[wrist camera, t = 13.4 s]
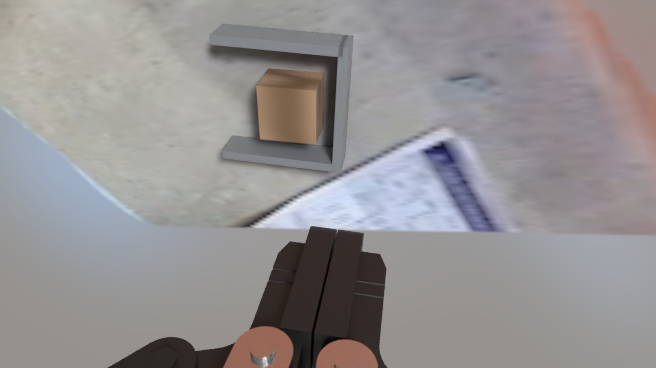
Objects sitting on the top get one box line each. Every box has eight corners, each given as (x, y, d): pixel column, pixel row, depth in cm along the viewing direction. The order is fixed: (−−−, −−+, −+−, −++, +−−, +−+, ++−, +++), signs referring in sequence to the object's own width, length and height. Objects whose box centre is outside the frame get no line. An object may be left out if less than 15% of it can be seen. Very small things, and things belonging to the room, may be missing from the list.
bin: (233, 142, 47) (222, 158, 45) (222, 24, 40) (209, 34, 38) (344, 156, 46) (340, 172, 43) (353, 35, 39) (348, 47, 37)
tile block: (271, 118, 45) (260, 139, 42) (269, 68, 42) (256, 85, 39) (323, 123, 44) (315, 144, 41) (324, 72, 42) (316, 90, 38)
